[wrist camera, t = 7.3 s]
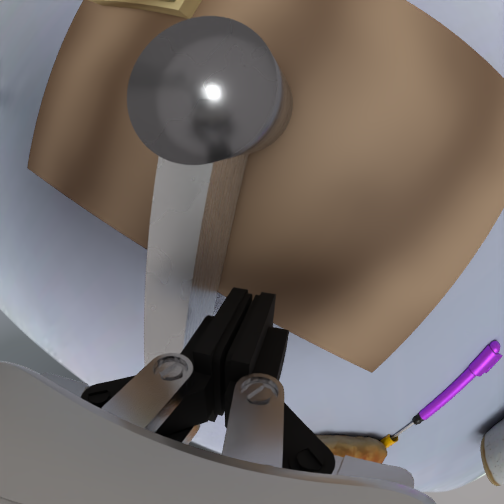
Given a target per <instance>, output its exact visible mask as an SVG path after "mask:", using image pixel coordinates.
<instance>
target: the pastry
mask: <svg viewBox="0 0 504 504" xmlns="http://www.w3.org/2000/svg"><path fill="white" fill-rule="evenodd" d="M316 436H317V437H318V438H319V439H320V440H321V441H322V442H323V443H324V444H325V445H326V446H327V447H328V448H329V449H330V450H331V452H332V453H333V454H334V455H336V456H340V457H345V455H347V456H351V457H355V458H359V459H363V460H367V461H372V462H376V463H381V464H382V462H383V461H384V459H385V457H386V456H387V450H386V447H385V445H384V444H382V443H381V442H380V441H378V440H377V439H373V438H370V437H369V436H368V437H363V436H357V437H352V436H346V435H334V436H332V435H316Z"/></svg>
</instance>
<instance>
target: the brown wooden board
mask: <svg viewBox="0 0 504 504" xmlns="http://www.w3.org/2000/svg"><path fill="white" fill-rule="evenodd" d="M201 16H219V17H225V18H229V19H233V20H236V21H238V22H240V23H243V24H244V25H246V26H248V27H249V28H251V29H252V30H253V31H254V32H256V33H257V34H258V35H259V36H260V37H261V38H262V40H263V41H264V42H265V43H266V45H267V47H268V48H269V50H270V51H271V53H272V55H273V57H274V58H275V60H276V62H277V64H278V65H279V67H280V69H281V71H282V73H283V74H284V76H285V78H286V80H287V82H288V84H289V86H290V89H291V93H292V98H293V109H292V115H291V118H290V121H289V123H288V125H287V127H286V129H285V130H284V132H283V133H282V134H281V136H280V137H279V138H278V139H277V140H276V141H274V142H273V143H272V144H271V145H269V146H268V147H266V148H264V149H262V150H259V151H256V152H253V153H249V155H248V159H247V163H246V168H245V172H244V176H243V180H242V184H241V189H240V193H239V197H238V202H237V206H236V210H235V215H234V219H233V224H232V228H231V233H230V237H229V242H228V246H227V251H226V255H225V260H224V264H223V269H222V274H221V279H220V283H219V288H218V292H219V293H220V294H222V295H224V296H226V297H227V296H228V295H229V293H230V291H231V290H232V288H233V287H235V288H241V289H247V290H248V293H249V294H252V301H253V299H254V297H255V295H260V294H261V292H266V293H272V294H276V300H275V309H274V319H273V323H274V324H276V325H278V326H280V327H282V328H284V329H286V330H289V332H291V333H293V334H295V335H297V336H299V337H301V338H303V339H305V340H307V341H309V342H311V343H313V344H315V345H317V346H319V347H320V348H322V349H324V350H326V351H328V352H330V353H332V354H334V355H336V356H338V357H341V358H343V359H345V360H347V361H349V362H351V363H353V364H355V365H357V366H359V367H361V368H363V369H365V370H367V371H370V372H373V371H374V370H375V369H377V368H378V367H379V366H380V365H381V364H382V363H383V362H384V361H385V360H386V359H387V358H388V357H389V356H390V355H391V354H392V353H393V352H394V351H395V350H396V349H397V348H398V347H399V346H400V345H401V344H402V343H403V342H404V341H405V340H406V339H407V338H408V337H409V336H410V335H411V334H412V332H413V331H414V330H415V329H416V328H417V327H418V326H419V325H420V324H421V323H422V321H423V320H424V319H425V318H426V317H427V316H428V315H429V313H430V312H431V311H432V310H433V309H434V308H435V306H436V305H437V304H438V303H439V302H440V300H441V299H442V298H443V297H444V295H445V294H446V293H447V292H448V290H449V289H450V288H451V287H452V285H453V284H454V283H455V281H456V280H457V279H458V277H459V276H460V275H461V273H462V272H463V271H464V269H465V268H466V267H467V265H468V264H469V262H470V261H471V259H472V258H473V257H474V255H475V254H476V252H477V251H478V249H479V248H480V246H481V245H482V243H483V242H484V240H485V238H486V237H487V235H488V234H489V232H490V230H491V229H492V227H493V226H494V224H495V222H496V220H497V219H498V217H499V215H500V214H501V212H502V210H503V208H504V78H503V77H502V76H501V75H500V74H499V73H498V72H497V71H496V70H495V69H494V68H493V67H492V66H491V65H490V64H489V63H488V62H487V61H486V60H485V59H484V58H483V57H481V56H480V55H479V54H478V53H477V52H476V51H475V50H474V49H472V48H471V47H470V46H469V45H468V44H467V43H465V42H464V41H463V40H462V39H460V38H459V37H458V36H457V35H455V34H454V33H453V32H452V31H450V30H449V29H448V28H446V27H445V26H444V25H442V24H441V23H440V22H438V21H437V20H435V19H434V18H432V17H431V16H430V15H428V14H427V13H425V12H424V11H422V10H421V9H419V8H417V7H416V6H414V5H413V4H411V3H409V2H408V1H406V0H83V2H82V4H81V5H80V7H79V9H78V11H77V13H76V15H75V17H74V19H73V21H72V23H71V25H70V27H69V29H68V32H67V34H66V36H65V38H64V41H63V43H62V45H61V48H60V50H59V53H58V55H57V58H56V60H55V63H54V66H53V68H52V71H51V74H50V77H49V80H48V83H47V86H46V89H45V92H44V96H43V99H42V103H41V106H40V110H39V114H38V117H37V122H36V126H35V130H34V135H33V139H32V144H31V149H30V155H29V161H28V167H27V168H28V169H29V170H31V171H32V172H33V173H35V174H36V175H37V176H39V177H40V178H42V179H43V180H44V181H46V182H47V183H48V184H50V185H51V186H53V187H54V188H55V189H57V190H58V191H60V192H61V193H63V194H64V195H65V196H67V197H68V198H70V199H71V200H73V201H74V202H75V203H77V204H78V205H80V206H81V207H83V208H84V209H86V210H87V211H89V212H90V213H92V214H93V215H95V216H96V217H98V218H99V219H101V220H102V221H104V222H105V223H107V224H108V225H110V226H111V227H113V228H114V229H116V230H117V231H119V232H120V233H122V234H123V235H125V236H127V237H128V238H130V239H131V240H133V241H134V242H136V243H137V244H139V245H141V246H142V247H144V248H145V249H148V237H149V227H150V217H151V208H152V199H153V191H154V184H155V177H156V170H157V164H158V157H159V156H158V155H156V154H155V153H153V152H152V151H151V150H150V149H149V148H147V147H146V146H145V145H144V143H143V142H142V141H141V140H140V139H139V137H138V136H137V134H136V132H135V130H134V128H133V126H132V124H131V121H130V118H129V114H128V109H127V89H128V83H129V79H130V75H131V72H132V70H133V67H134V65H135V63H136V61H137V59H138V57H139V56H140V54H141V53H142V51H143V50H144V49H145V47H146V46H147V45H148V44H149V43H150V42H151V41H152V40H153V39H154V38H155V37H156V36H157V35H158V34H160V33H161V32H163V31H164V30H165V29H167V28H169V27H170V26H172V25H174V24H176V23H179V22H181V21H184V20H187V19H190V18H194V17H201Z"/></svg>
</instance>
